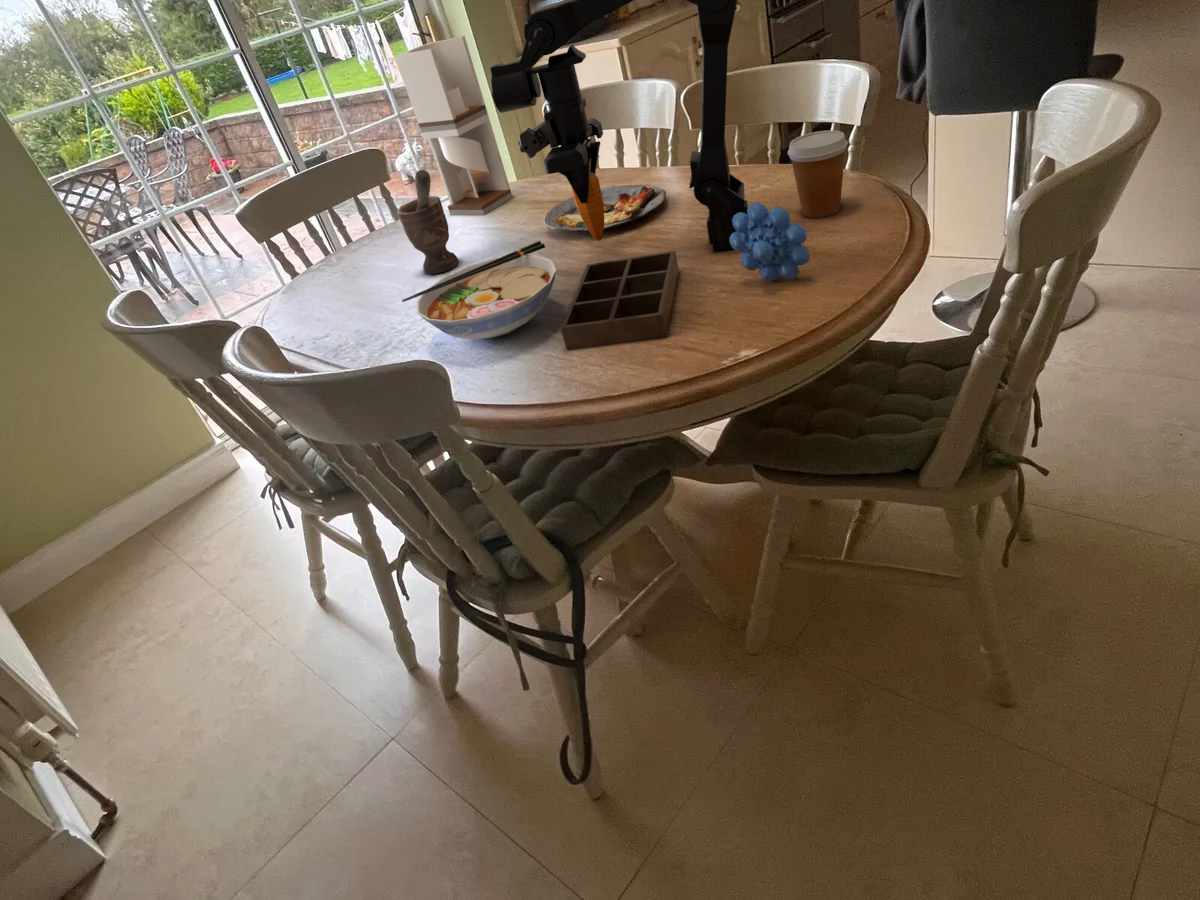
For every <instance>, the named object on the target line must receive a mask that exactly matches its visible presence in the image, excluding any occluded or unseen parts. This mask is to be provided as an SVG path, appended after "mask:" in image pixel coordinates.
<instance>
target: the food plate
mask: <svg viewBox="0 0 1200 900" xmlns="http://www.w3.org/2000/svg"><path fill="white" fill-rule="evenodd" d="M600 189H601V193H602V199H603V205H604V230H607V229H611V228H614V227H617V226H621V225H624V224H628V223H631V222H634V221H635V220H638V219H640V218H644V217H645V216H647V214H649V213H651V212H652V211H654V210H655V209H657V208H658V207H659V206H662V205H663V204H664V203H665V201H666V199H667V196H666V195H667V191H666V190H665V189H663V188H660V187H659V186H653V185H650V184H626V185H625V184H621V185H612V186H607V187H600ZM542 220H543V225H545V227H547V228H549V229H551V230H565V231H570V232H571V231H573V232H574V231H583V232H587V231H588V229H587V228H586V226H585V224H584V222H583V220H582V218H581V216H580V214H579V211H578V209H577V206H576V203H575V200H574V197H573V196H572V197H570V198H567V199H565V200H562V201H561V202H559V203H557V204H556V205H554V207H552V208H551V209H549V210H548V211H547V212H546V213H545V215H544V218H543V219H542Z"/></svg>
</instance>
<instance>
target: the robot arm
mask: <svg viewBox="0 0 1200 900" xmlns="http://www.w3.org/2000/svg"><path fill="white" fill-rule="evenodd" d="M633 1H635V0H561V1H557V2H554V3H550V4H548V5H544V6H542V7H540V8H539V9H537V10H536V11H534V12H533V13H531V15H529V16H528V17H527V19H526V20H525V24H524V28H523V34H524V39H525V41H526V42H525V44H524V47H523V49H522V53H521V55H520V59H519V60H515V61H510V62H507V63H497V64H493V65H492V66H491V67H490V68H489V71H490V76H491V79H490V82H491V83H490V84H491V91H492V92H491V97H492V101H493V103H494V105H495V107H496V109H497V111H498V112H499V113H500V114H504V113H508V112H513V111H516V110H522V109H526V108H530V107H535V106H537V105H536V104H537V99H538V98H541V96H542V95H543V99H544V102H545V106H546V111H545V113H544V115H543V120H544V121H542V122H540V123H539V124H538V125H536V126H534V127H533V128H531V127H528V128H527V129H525V130H524V131H521V132H520V134H518V137H519V141H518V146H519V151H520V153H525V154H526V156H527V157H528V159H530V160H531V159H532V158H534V157H535V156H536V154H538V153H539V152H540V151H542V150H544V149H545V148H547V147H548V146H550V147H549V148H550V150H549V151H548V153H547V155H546V156H545V157H544V160H543V164H544V168H545V173H546V174H547V175H552V174H560V175H562V176H564V177H565V178H566V180H567V182H568V183H569V185H571V186H572V188H573V190H574V192H575V193H576V195H577V197H578V199H579V200H580V202H581V203H587V201H588V193H589V181H590V172H592V173H594V174H595V175H596V174H597V168H598V160H599V153H600V149H601V147H600V146H601V140H600V141H592V138H591V137H594V136H595V138H597V139H602V137H603V136H604V130H603V126H602V122H601V121H599V120H598V119H596V118H595V117H593V118H587V114H586V109H585V108H586V107H587V106H588V105H587V99H586V98H583V97H582V92H581V87H580V83H579V79H578V74H577V71H576V67H575V65H577V64H581V63H583V62H584V60H585V59H586V58H587V54H586V53H585V52H583V51H581V50H579V49H578V48H577V47H575V45H574V44H571V45H569V47H568V48H567V51H566V52H562V53H558V54H554V53H555V52H556V51H557V50H559V49H560V48H562V46H564V45H565V44H567V43H568V42H569V41H570V40H571V39H572V38H574V37H576V35H578V34H579V33H580V32H581V31H582V30H583V29H584V28H586V27H587V26H588V25H590V24H592V23H593V22H596V21H597V20H600V19H601V18H603V17H606V16H607V15H609V14H611V13H613V12H614V11H616V10H618V9H620V8H622V7H624V6H626V5H628V4H629V3H632V2H633ZM686 1H687V2H688V3H691V4H694V5H696V10H697V19H698V24H699V31H700V36H701V43H702V49H703V51H702V53H703V54H702V97H701V98H702V99H701V101H702V103H701V144H700V149H699V151H695V150H691V152H690V153H691V154H690V159H689V166H690V167H689V168H690V173H691V174H690V180H689V187H688V188H689V189H693V196H694V198H695V200H696V201H697V202H698V203H699V204H700V205H702V206H705V207H707V209H708V216H706V217H707V218H706V228H707V235H708V241H709V242H708V243H709V245H710V246H712V248H711V249H712V252H713V253H716V252H722V251H728V250H729V251H730V250H734V249H733V248H732V246H731V244H730V240H729V238H730V236H731V234H732V233H734V232H736V230H735V228H734V227H733V224H732V219H733V216H734V215H735V214H737V213H739V212H741V213H746V214H747V215H748V213H747V209H748V207H749V204H748V199H745V183H744V182H743V181H741V180H740V179H739V178H737V177H735V175H733V174H732V173H730V172H731V171H730V164H729V157H728V150H727V144H726V111H727V110H726V108H727V83H728V81H727V79H728V55H729V53H728V52H729V44H730V38H731V35H732V29H733V23H734V19H735V13H736V9H737V3H738V0H686ZM552 54H554V55H552ZM549 55H550V56H549ZM544 56H549V57H548V60H547V63H545V64H542V65H536V64H537V63H538V62H540V61H541V59H542V58H544ZM535 65H536V66H535ZM571 186H570V187H571Z"/></svg>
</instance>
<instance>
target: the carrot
mask: <svg viewBox="0 0 1200 900" xmlns="http://www.w3.org/2000/svg"><path fill="white" fill-rule="evenodd" d="M569 185H570V184H569ZM570 189H571V193H572V197H574V200H575V203H576V206H577V209H578V211H579V214H580V216H581V218H582V220H583V222H584V224H585V226H586V228H587V229H588V230H587V231H588V232H589V234H590V235H591V236H592V237H593V238H594V239H595V241H597V242H600V241H601V240H602V238H603V234H604V230H605V229H604V205H603V199H602V193H601V185H600V180H599V177H598V176H597V175H596V174H594V173H592V172H590V181H589V193H588V201H587V203H581V202H580V200H579V199H578V197H577V195H576V193H575V192H574V190H573V188H572V186H571V185H570Z"/></svg>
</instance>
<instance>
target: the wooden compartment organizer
mask: <svg viewBox="0 0 1200 900" xmlns="http://www.w3.org/2000/svg"><path fill="white" fill-rule="evenodd" d="M679 272H680V269H679V263H678V259H677V252H676V250H670V251H665V252H658V253H657V252H656V253H651V254H645V255H639V256H633V257H626V258H620V259H614V260H607V261H601V262H595V263H589V264H587V265H586V266H585V268H584V271H583V273H582V275H581V278H580V279H579V280H580V281H579V282H578V286H577V288H576V290H575V293H574V294H573V297H572V300H571V302H570V305H569V306H568V309H567V312H566V314H565V317H564V319H563V321H562V323H561V326H560V331H561V336H562V338H563V343H564V345H565V348H566V350H574V349H582V348H583V349H584V348H591V347H598V346H606V345H615V344H622V343H630V342H638V341H645V340H653V339H654V340H655V339H661V338H667V337H668V331H669V326H670V322H671V316H672V310H673V306H674V299H675V295H676V290H677V289H676V288H677V283H678V278H679Z"/></svg>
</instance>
